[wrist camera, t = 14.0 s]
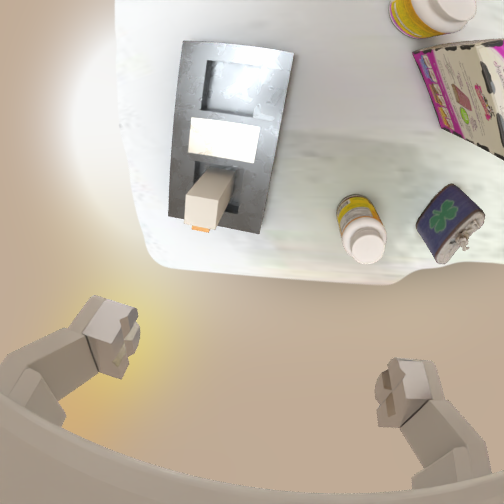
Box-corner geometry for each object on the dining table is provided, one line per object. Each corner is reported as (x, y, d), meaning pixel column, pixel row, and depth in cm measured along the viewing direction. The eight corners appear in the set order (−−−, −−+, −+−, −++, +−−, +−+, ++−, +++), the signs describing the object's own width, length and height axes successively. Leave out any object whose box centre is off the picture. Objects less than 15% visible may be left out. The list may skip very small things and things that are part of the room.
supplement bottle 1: (373, 228, 43) (388, 270, 35) (335, 229, 44) (343, 271, 36) (375, 192, 40) (394, 227, 32) (335, 193, 41) (345, 229, 33)
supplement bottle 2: (419, 49, 29) (466, 44, 18) (377, 15, 28) (411, -6, 17) (443, 17, 25) (494, 5, 15) (403, -16, 24) (442, -44, 13)
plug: (209, 166, 41) (185, 194, 33) (235, 171, 41) (218, 200, 33) (206, 196, 44) (183, 229, 35) (231, 200, 44) (214, 236, 35)
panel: (191, 42, 33) (182, 40, 30) (294, 54, 32) (293, 52, 30) (175, 207, 46) (168, 216, 43) (261, 224, 45) (259, 234, 43)
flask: (422, 234, 42) (447, 276, 33) (410, 224, 42) (434, 265, 33) (460, 190, 38) (496, 224, 29) (449, 178, 37) (484, 210, 28)
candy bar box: (468, 118, 32) (541, 152, 18) (440, 129, 34) (507, 167, 20) (440, 42, 27) (512, 36, 14) (410, 50, 29) (474, 45, 16)
